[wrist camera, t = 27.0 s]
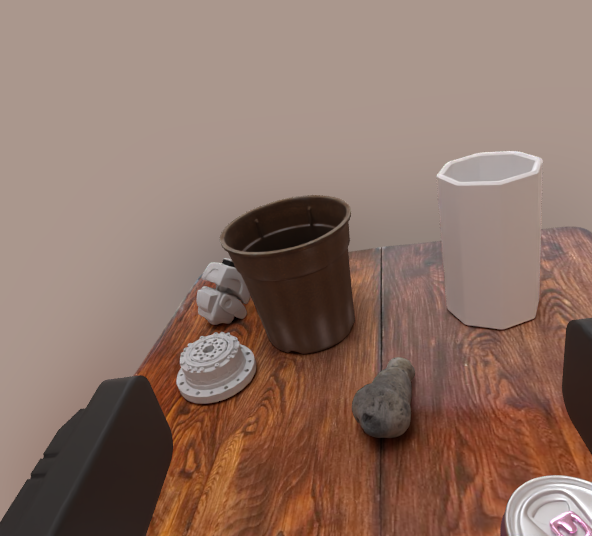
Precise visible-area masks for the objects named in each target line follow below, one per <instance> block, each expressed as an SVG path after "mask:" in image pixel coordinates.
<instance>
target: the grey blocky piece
mask: <svg viewBox="0 0 592 536" xmlns="http://www.w3.org/2000/svg"><path fill="white" fill-rule="evenodd" d="M202 279H204V280H207V281H210V282H213V283H215V284H216V289H214V288H210V287H206V286H204V287H202V289H201V290H198V292H197V305H198V307H199V308H198V313H199V315H201V316H203V317H205V318H206V319H207V320H208V322H209V323H210V324H213V325H217V324H219V323H226V324H229V323H231V322H232V321H233V319H234V316H235V317H237V318H240V319H243V318H244V317H245V316H246V314H247V312H246V309H245V307H244V305H243V304H242V303H241V301H242V302H243V303H245V304H247V303H248V302H249V299H250V293H249V291H248V289H247V287H246V284H245V282H244V280H243V278H242V276H241V274H240V273H239V272H238V271H237V270H236V268H235V266H234V263H233V261H232V260H230V259H226V258H224V259H223V262H222V264H221V263H216V262H211V263H210V264H209V265H208V267H207V268H206V269H205V271H204V273H203V275H202ZM238 299H239V300H241V301H239V300H238Z"/></svg>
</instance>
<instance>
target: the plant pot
mask: <svg viewBox="0 0 592 536" xmlns="http://www.w3.org/2000/svg"><path fill="white" fill-rule="evenodd" d="M350 217H351V209H350V206H349V204H347V203H346V202H345V201H343V200H341V199H338V198H335V197H330V196H320V195H310V196H309V195H308V196H298V197H292V198H287V199H282V200H278V201H275V202H272V203H269V204H266V205H263V206H260V207H257V208H255V209H253V210H251V211H248V212H246V213H245V214H243V215H241V216H239V217H238V218H236V219H235V220H233V221H232V222H231V223H230V224H229V225H228V226H227V227H226V228H225V229H224V230H223V232H222V233H221V236H220V243H221V245H222V247H223V248H224V249H225V250H226V251H227V252H228V253H229V255H230V257H231V259H232V261H233V263H234V266H235V268H236V270H237V271H238V272H239V273H240V274H241V276H242V278H243V280H244V282H245V284H246V287H247V289H248V291H249V293H250V296H251V298H252V300H253V302H254V305H255V307H256V309H257V312H258V314H259V316H260V319H261V321H262V323H263V326H264V328H265V331H266V333H267V335H268V338H269V340H270V342H271V343H272V344H273V345H274V346H275V347H276V348H278V349H279V350H281V351H284V352H287V353H289V352H290V351H296V352H299V353H301V354H308V353H313V352H318V351H321V350H324V349H327V348H329V347H331V346H333V345H335V344H337V343H339V342H340V341H341V340H343V339H344V338H345V337H346V336H347V335H348V334H349V333H350V330H351V327H352V325H353V323H354V321H355V316H354V308H353V298H352V289H351V278H350V267H349V255H348V245H349V241H350V238H349V224H348V221H349V219H350Z"/></svg>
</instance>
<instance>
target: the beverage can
mask: <svg viewBox="0 0 592 536" xmlns="http://www.w3.org/2000/svg"><path fill="white" fill-rule="evenodd" d="M501 536H592V482H589V481H586V480H583V479H580V478H575V477H570V476H561V475H551V476H543V477H538V478H535V479H532V480H530V481H528V482H526V483H524V484H523V485H521V486H520V487H519V488H517V489H516V490H515V491H514V493H513V494H512V495H511V497H510V499H509V501H508V503H507V506H506V510H505V513H504V515H503V518H502V522H501Z"/></svg>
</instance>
